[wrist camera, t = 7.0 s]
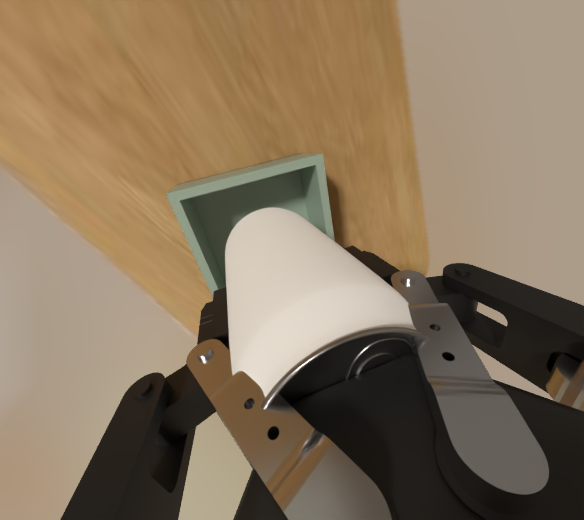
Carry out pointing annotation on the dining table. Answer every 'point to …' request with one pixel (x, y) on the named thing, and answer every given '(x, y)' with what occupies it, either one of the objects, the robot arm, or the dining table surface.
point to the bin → (248, 205)
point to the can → (306, 308)
